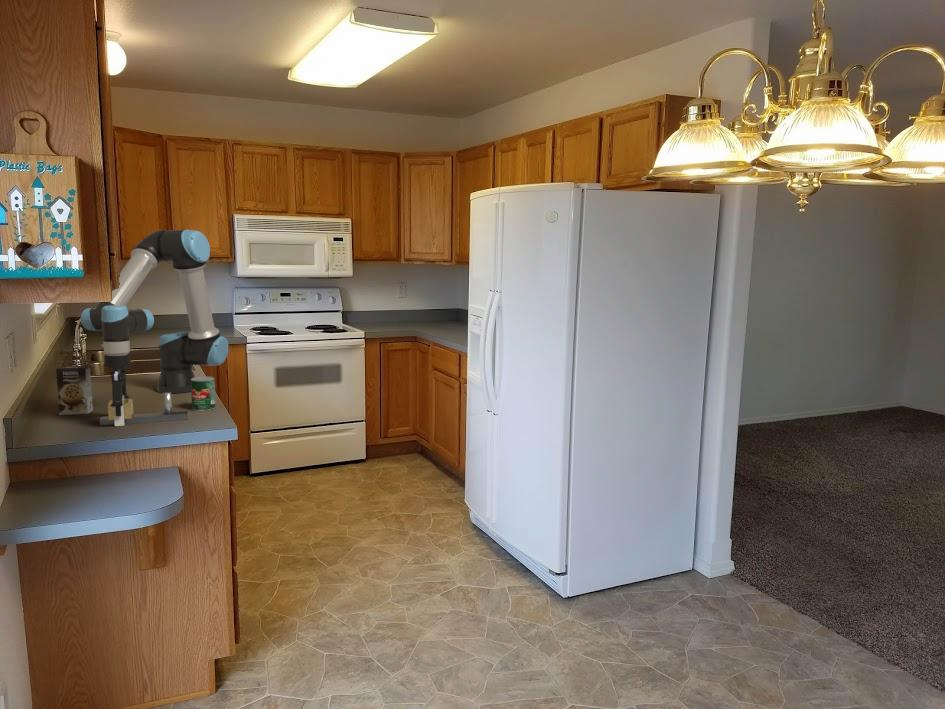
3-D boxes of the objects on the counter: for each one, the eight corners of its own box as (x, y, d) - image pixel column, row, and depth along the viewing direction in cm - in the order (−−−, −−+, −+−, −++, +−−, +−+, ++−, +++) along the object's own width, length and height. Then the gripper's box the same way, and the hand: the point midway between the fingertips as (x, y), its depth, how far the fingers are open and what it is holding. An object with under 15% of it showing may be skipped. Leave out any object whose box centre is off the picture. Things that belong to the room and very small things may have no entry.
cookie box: (58, 415, 228) (54, 368, 226) (64, 411, 235) (60, 365, 232) (88, 414, 231) (85, 367, 228) (93, 409, 237) (90, 364, 235)
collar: (111, 415, 222) (110, 400, 221) (133, 413, 224) (132, 399, 223) (108, 419, 216) (107, 404, 215) (131, 418, 218) (130, 403, 217)
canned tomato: (192, 412, 236) (190, 381, 234) (192, 407, 243) (190, 377, 242) (216, 410, 239) (215, 379, 237) (215, 405, 246) (214, 375, 245)
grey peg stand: (101, 422, 220) (99, 395, 218) (188, 416, 229) (187, 390, 228) (100, 425, 216) (98, 398, 215) (188, 419, 226) (186, 393, 224)
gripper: (108, 349, 225) (112, 415, 229) (99, 359, 205) (103, 431, 209) (133, 348, 228) (137, 413, 231) (126, 358, 208) (130, 429, 211)
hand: (121, 422), depth 220 cm, fingers open, 9 cm apart
